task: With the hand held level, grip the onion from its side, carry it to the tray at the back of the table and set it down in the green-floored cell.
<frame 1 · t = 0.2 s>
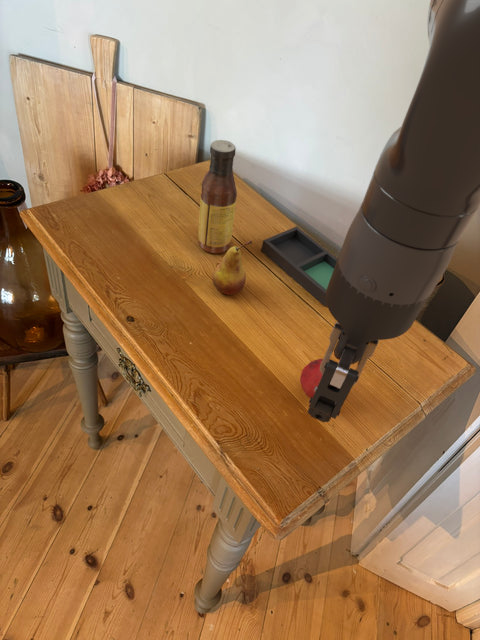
hand: (331, 383, 47), 18 cm above the table, tool pointing down, fingers open, 8 cm apart
sauce bottle: (212, 245, 88), on the table
onion: (313, 395, 68), on the table
tray: (308, 269, 87), on the table
fruit: (226, 289, 80), on the table
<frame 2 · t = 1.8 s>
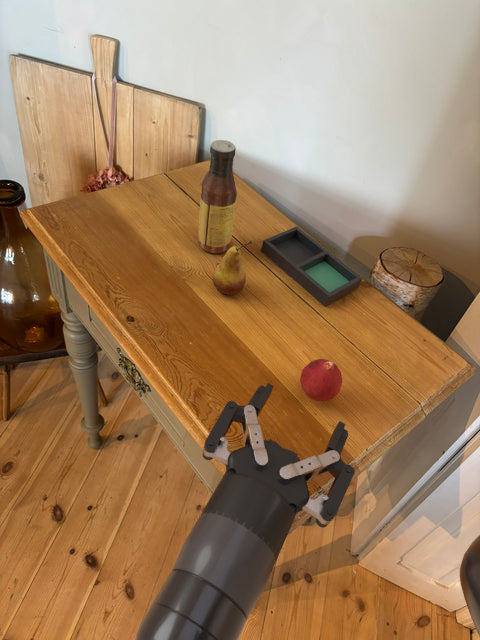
hand: (304, 406, 50), 13 cm above the table, tool horizontal, fingers open, 8 cm apart
nothing on the table moved.
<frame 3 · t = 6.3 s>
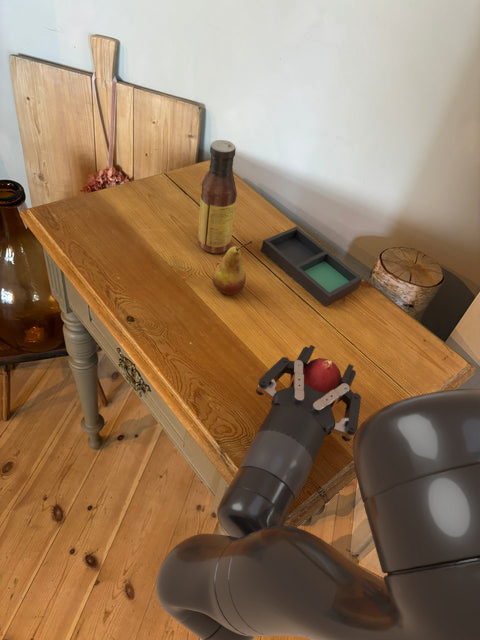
hand: (330, 358, 65), 6 cm above the table, tool horizontal, fingers closed on onion, 5 cm apart
onion: (313, 395, 68), on the table, touching gripper
everything else where it was.
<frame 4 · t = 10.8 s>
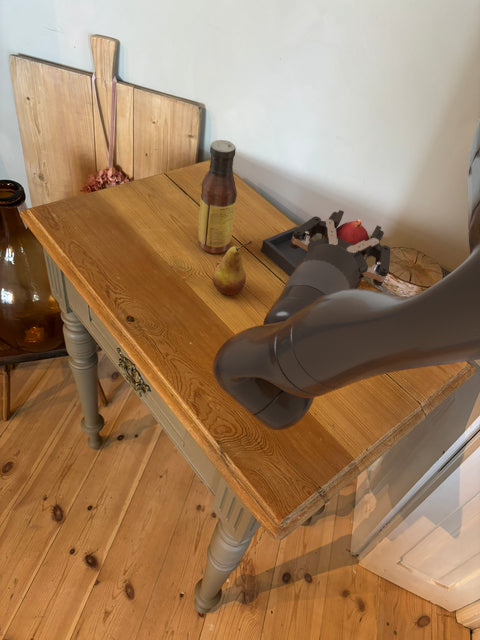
hand: (358, 223, 68), 18 cm above the table, tool horizontal, fingers closed on onion, 5 cm apart
onion: (341, 264, 71), point 11 cm above the table, touching gripper
everything else where it was.
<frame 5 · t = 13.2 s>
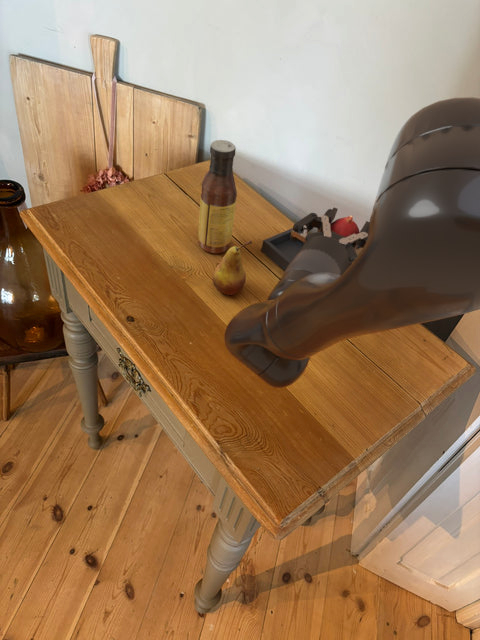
hand: (350, 219, 77), 13 cm above the table, tool horizontal, fingers closed on onion, 5 cm apart
onion: (335, 255, 80), point 7 cm above the table, touching gripper
everything else where it was.
when the fingers open (7 cm above the table, at t = 15.3 s): onion stays where it is, resting on tray.
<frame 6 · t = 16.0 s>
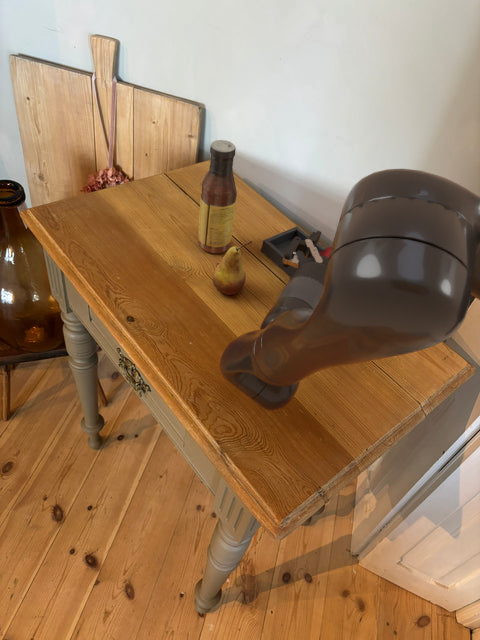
hand: (340, 244, 81), 8 cm above the table, tool horizontal, fingers open, 8 cm apart
onion: (325, 279, 85), point 1 cm above the table, touching tray
everything else where it was.
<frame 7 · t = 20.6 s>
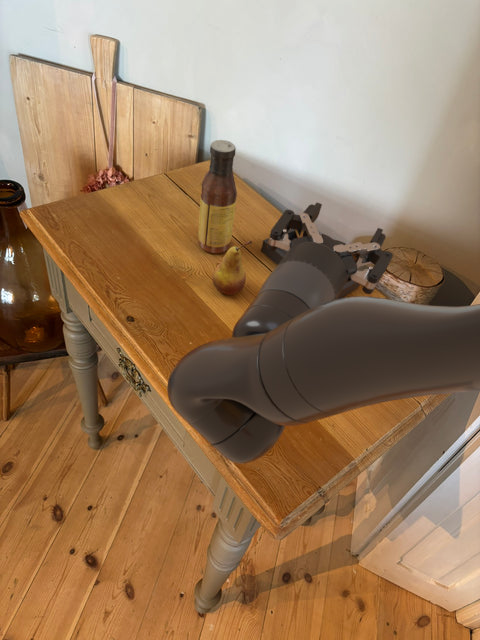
hand: (347, 221, 60), 22 cm above the table, tool horizontal, fingers open, 8 cm apart
nothing on the table moved.
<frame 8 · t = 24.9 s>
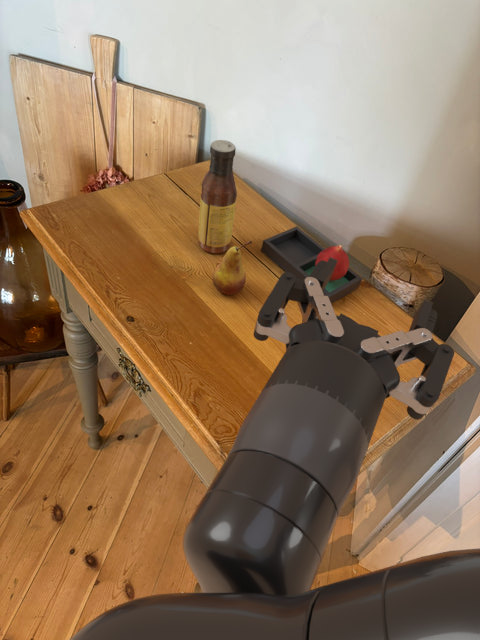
hand: (376, 286, 40), 30 cm above the table, tool horizontal, fingers open, 8 cm apart
nothing on the table moved.
at the end: onion 0.2 cm from the target spot in the tray, point 0.6 cm above the tray's base; the gripper is holding nothing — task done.
